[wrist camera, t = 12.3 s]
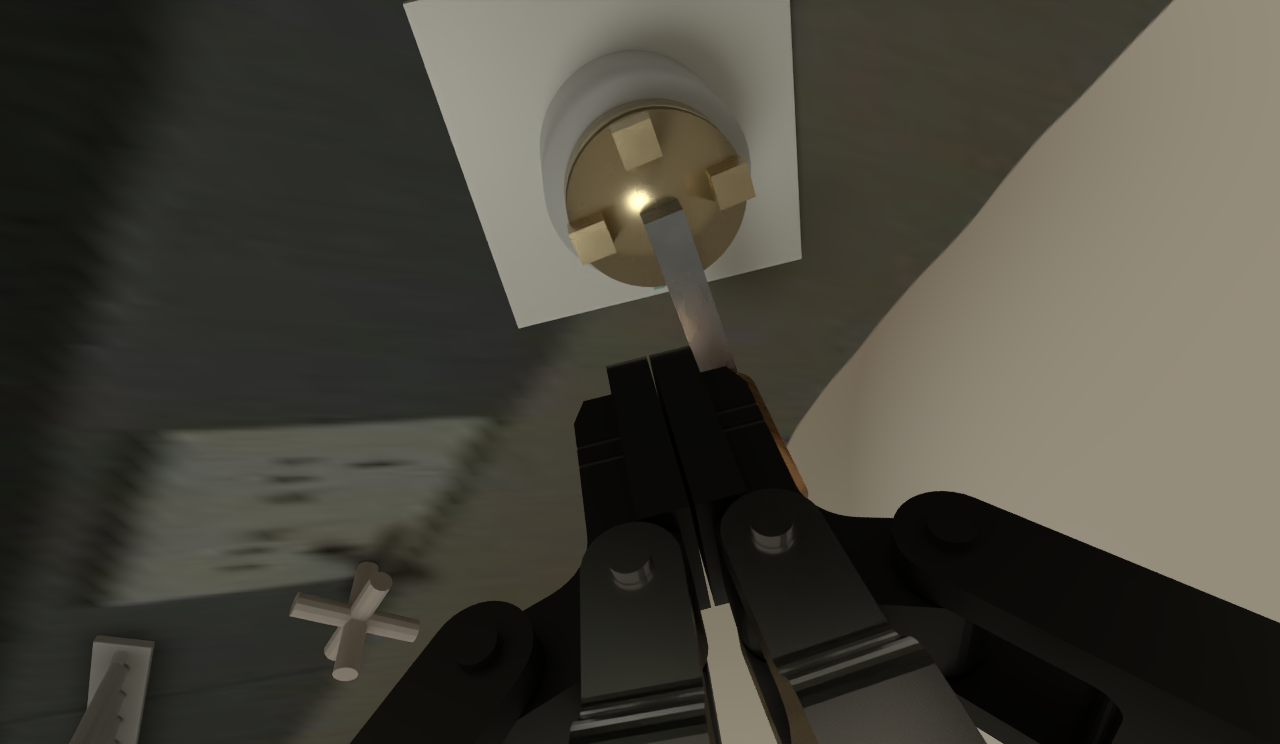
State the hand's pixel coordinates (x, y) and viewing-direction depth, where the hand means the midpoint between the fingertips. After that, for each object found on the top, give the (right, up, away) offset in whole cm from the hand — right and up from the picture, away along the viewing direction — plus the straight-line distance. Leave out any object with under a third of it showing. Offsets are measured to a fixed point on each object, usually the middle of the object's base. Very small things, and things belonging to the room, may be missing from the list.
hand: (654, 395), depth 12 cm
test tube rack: (-52, -33, +54) cm, 81 cm away
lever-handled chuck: (+2, +7, +26) cm, 27 cm away
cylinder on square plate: (-1, +14, +29) cm, 33 cm away
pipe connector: (-24, -17, +47) cm, 56 cm away
